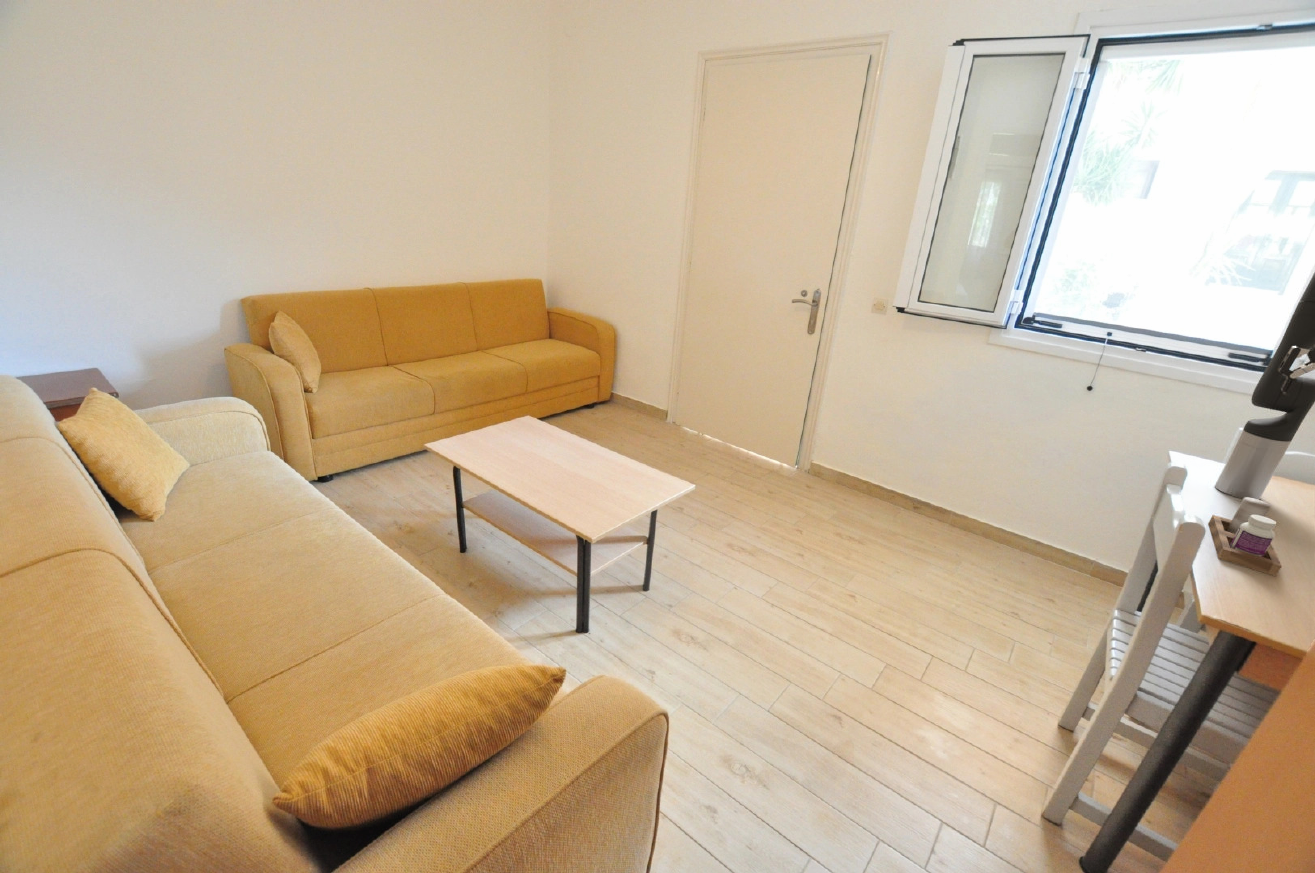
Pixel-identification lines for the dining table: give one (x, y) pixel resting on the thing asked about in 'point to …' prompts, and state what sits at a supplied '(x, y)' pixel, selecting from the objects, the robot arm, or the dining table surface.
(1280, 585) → the dining table surface
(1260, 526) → the pill bottle
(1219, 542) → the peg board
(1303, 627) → the dining table surface
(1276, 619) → the dining table surface
